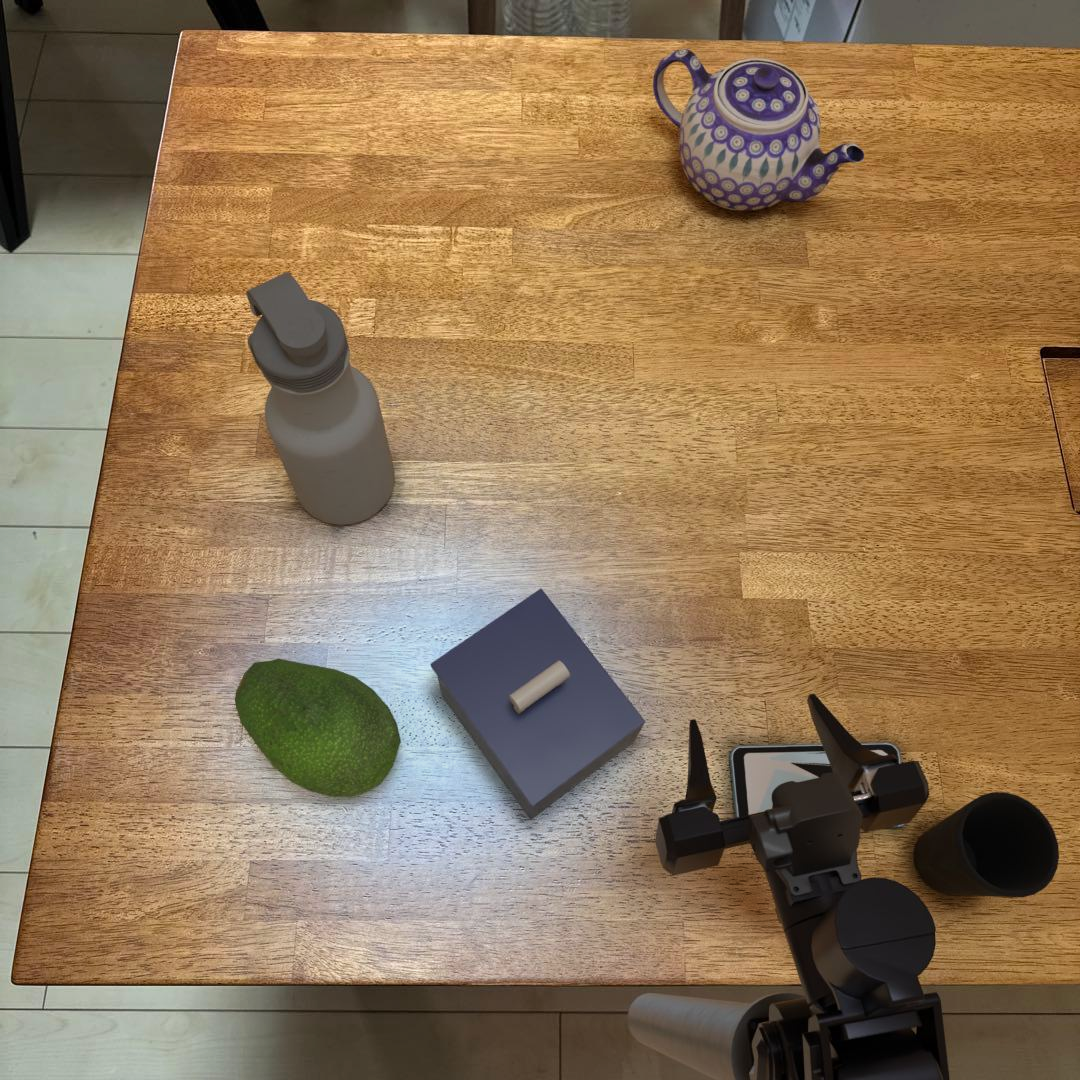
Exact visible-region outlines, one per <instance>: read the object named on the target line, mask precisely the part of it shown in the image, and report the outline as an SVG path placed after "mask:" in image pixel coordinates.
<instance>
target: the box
mask: <svg viewBox="0 0 1080 1080" xmlns="http://www.w3.org/2000/svg"><path fill="white" fill-rule="evenodd" d="M436 678H437V683H438V685H439V690H440V694H441V697H442V699H443V700H444V702H445V703H446V704H447V706H448V707H449V708H450V709H451V712H452V713H453V714H454V715H455V717H456V718H457V720H458V721H459V722H460V724H461V725H462V727H463V728H464V729H465V731H466V732H467V733H468V735H469V737H470V738H471V739H472V741H473V742H474V744H475V745H476V746H477V747H478V749H479V750H480V752H481V753H482V754H483V756H484V757H485V759H486V760H487V762H488V763H489V764H490V766H491V767H492V769H493V770H494V771H495V772H496V774H497V775H498V778H500V780H501V782H503V784H504V785H505V786H506V788H507V789H508V791H509V792H510V794H511V796H512V797H513V798H514V799H515V801H516V802H517V804H518V805H519V806H520V808H521V809H522V811H523V812H524V813H525V815H526V816H527V818H528V819H529V820H531V821H532V820H533V819H534V818H536V817H537V816H538V815H539V814H541V813H542V812H543V811H545V810H546V809H547V808H549V807H550V806H552V805H553V804H554V803H555V802H557V801H559V800H560V799H561V798H562V797H564V795H566V794H567V793H569V792H570V791H572V790H573V789H574V788H575V787H577V786H578V785H579V784H580V783H582V782H583V781H584V780H587V778H589V777H590V776H591V775H593V774H594V773H595V772H596V771H598V770H599V769H600V768H602V767H603V766H604V765H606V764H607V763H608V762H609V761H611V760H612V759H614V758H615V757H616V756H618V755H619V754H620V753H622V752H623V751H625V750H626V749H627V748H628V747H629V746H631V745H632V744H633V743H635V742H636V740H637V738H638V736H639V735H640V732H641V731H642V729H643V728H644V725H642V726H641V727H640V728H638V729H637V730H636V731H634V732H633V733H632V734H630V735H629V736H628V737H626V738H625V739H624V740H622V741H621V742H620V743H618V744H617V745H616V746H614V747H613V748H612V749H610V750H609V751H608V752H606V753H605V754H604V755H602V756H601V757H600V758H598V759H597V760H596V761H594V762H593V763H592V764H590V765H589V766H588V767H586V768H585V769H584V770H582V771H581V772H580V773H578V774H577V775H576V776H574V777H573V778H572V779H570V780H569V781H568V782H566V783H565V784H564V785H562V786H561V787H560V788H558V789H557V790H556V791H554V792H553V793H552V794H550V795H549V796H548V797H546V798H545V799H544V800H542V801H541V802H540V803H538V804H537V805H536V806H534V807H533V808H532V807H531V806H530V804H529V803H528V801H527V800H526V799H525V797H524V796H523V794H522V793H521V792H520V790H519V789H518V787H517V786H516V785H515V783H514V782H513V780H512V779H511V778H510V776H509V775H508V774H507V772H506V771H505V769H504V768H503V767H502V765H501V764H500V762H499V761H498V760H497V758H496V757H495V755H494V754H493V753H492V751H491V750H490V748H489V747H488V746H487V744H486V743H485V742H484V740H483V739H482V737H481V736H480V735H479V733H478V732H477V730H476V729H475V728H474V726H473V725H472V723H471V722H470V721H469V719H468V718H467V716H466V715H465V714H464V712H463V711H462V710H461V708H460V707H459V705H458V704H457V703H456V701H455V700H454V698H453V697H452V696H451V694H450V693H449V691H448V690H447V689H446V687H445V686H444V684H443V683H442V682H441V680H440V679H439V678H438V676H437V675H436Z"/></svg>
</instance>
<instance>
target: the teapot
mask: <svg viewBox="0 0 1080 1080" xmlns="http://www.w3.org/2000/svg"><path fill="white" fill-rule="evenodd" d="M673 63H682V64H683V65H684V66H685V67H686V69H687V71H688V72H689V74H690V77H691V85H692V91H691V95H690V96H689V98H688V101H687V102H686V105H685V107H684V109H683V112H681V111H680V110H679V109H678V108H677V107H675V105H674V104H673V102H672V101H671V100H670V98H669V96H668V94H667V91H666V87H665V83H664V80H665V79H664V78H665V72H666V70H668V68H669V66H670V65H672V64H673ZM652 78H653V79H652V92H653V96H654V99H655V101H656V103H657V105H658V107H659V109H660V110H661V111H662V113H663V114H664V115H665V116H666V117H667V119H668V120H670V122H672V123H673V124H674V126H676V127H677V128H678V130H679V132H678V151H679V159H680V163H681V167H682V170H683V172H684V174H685V176H686V178H687V180H688V181H689V182H688V183H690V184H691V185H692V187H693V188H694V189H695V190H696V192H698V193H699V194H701V196H702V197H704V198H705V199H706V200H708V201H710V202H711V203H713V204H714V205H716V206H719V208H724V209H727V210H732V211H755V210H764V209H766V208H770V207H772V206H774V205H776V204H779V203H782V202H787V203H790V204H797V203H804V202H807V201H810V200H813V199H814V198H816V197H817V196H818V195H819V194H820V193H822V191H823V190H824V189H825V188H826V187H827V185H829V183H830V182H831V180H832V178H833V177H834V175H836V173H837V171H838V170H839V169H840V168H841V167H842V166H843V165H845V164H849V163H860V162H862V161H863V160H864V159H865V153H864V150H863V149H862V148H861V147H860V146H859V145H858V144H855V143H853V142H845V143H842V144H839V145H837V146H835V147H834V148H832V149H831V150H830V151H828V152H826V153H825V152H823V151H822V150H821V147H820V134H821V127H822V126H821V119H820V107H819V105H818V104H817V102H816V100H815V99H814V97H813V96H812V94H811V93H810V92H809V90H808V88H807V86H806V83H805V82H804V80H803V79H802V77H801V75H800V74H798V73H797V72H796V71H795V70H793V69H792V68H790V67H789V66H787V65H786V64H784V63H781V62H778V61H776V60H772V59H768V58H763V57H762V58H761V57H751V58H744V59H740V60H738V61H735V62H733V63H731V64H729V65H727V66H726V67H724V68H721V69H719V70H717V71H716V72H713V73H710V72H708V71H707V70H706V68H705V67H704V65H703V63H702V62H701V60H700V59H699V58H698V56H697V55H696V54H695V53H694V52H693V51H692V50H690V49H688V48H681V49H677V50H675V51H673V52H671V53H669V54H667V55H666V56H664V57H663V58H662V59H661V60H659V61H658V64H657V65H656V67H655V69H654V73H653V77H652Z"/></svg>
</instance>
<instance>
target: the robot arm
mask: <svg viewBox="0 0 1080 1080" xmlns="http://www.w3.org/2000/svg"><path fill="white" fill-rule="evenodd" d="M806 702H807V705H808V709H809V713H810V716H811V720H812V723H813V725H814V728H815V730H816V733H817V736H818V738H819V740H820V744H822V745H823V748H824V750H825V753H826V755H827V758H828V760H829V763H830V765H831V768H832V770H833V772H832V773H826V774H823V775H822V776H821V777H819V778H815V779H810V780H806V781H801V782H795V781H789V782H785V783H782V784H780V785H779V786H777V787H776V788H775V789H774V791H773V792H772V809H768V810H765V811H764V812H759V813H755V814H750V815H746V816H741V817H737V818H735V817H733V818H728V819H725V820H720V817H719V814H717V813H716V812H714V809H715V806H716V802H717V799H718V796H717V794H716V792H715V790H714V786H713V785H712V782H711V776H710V771H709V767H708V761H707V757H706V756H707V755H706V751H705V747H704V742H703V737H702V733H701V731H700V730H701V729H700V728H699V724H698V722H697V720H696V719H695V718H692V719H690V720H689V725H688V750H687V751H688V753H687V754H688V755H687V757H688V758H687V781H686V789H685V790H686V791H685V797H684V799H680V800H678V801H676V802H675V803H674V804H673V805H672V810H671V813H667V814H665V815H662V816H661V817H659V818H658V821H657V827H656V833H655V839H654V843H655V847H656V851H657V854H658V858H659V859H658V860H659V861H660V862H659V863H660V865H661V866H662V869H663V870H664V871H666V872H667V873H668V874H669V875H671V876H673V877H674V876H679V875H683V874H687V873H691V872H697V871H701V870H705V869H710V868H714V867H719V865H720V863H721V860H722V857H723V854H724V852H725V850H727V849H728V850H729V849H732V848H736V847H742V846H745V845H746V846H747V845H750V847H751V849H752V851H753V855H754V856H755V858H756V861H757V862H758V863H759V865H760V866H761V868H762V869H763V871H764V874H765V878H766V880H767V884H768V887H769V890H770V893H771V896H772V899H773V902H774V906H775V907H774V911H775V915H776V917H777V920H778V923H779V924H781V927H782V930H783V933H784V935H785V938H786V942H787V945H788V948H789V951H790V954H791V958H792V961H793V964H794V966H795V970H796V972H797V977H798V979H799V981H800V985H801V988H802V991H803V994H804V996H805V998H800V999H794V1000H789V1001H783V1002H778V1003H773V1004H771V1005H770V1007H769V1017H759V1018H751V1019H749V1020H748V1021H747V1025H746V1026H747V1033H748V1039H749V1046H750V1053H751V1060H752V1069H751V1071H750V1073H749V1075H750V1080H951V1079H950V1071H949V1062H948V1061H949V1059H948V1052H947V1043H946V1035H945V1026H944V1016H943V1009H942V1008H943V1007H942V1000H941V997H940V995H939V993H938V992H937V991H932V992H927V993H924V991H923V988H922V985H921V983H920V980H919V976H920V975H921V974H922V973H923V972H924V971H925V970H926V969H927V968H928V967H929V965H930V963H931V961H932V959H933V957H934V955H935V950H936V944H937V940H936V931H937V927H936V924H935V921H934V918H933V915H932V914H931V912H930V910H929V908H928V906H927V905H926V903H925V902H924V901H923V899H922V898H921V897H920V896H919V895H918V894H917V893H915V892H914V891H913V890H912V889H911V888H909V887H908V886H906V885H904V884H903V883H901V882H898V881H896V880H893V879H890V878H887V877H875V876H873V877H872V876H871V877H867V878H863V879H862V873H861V870H860V868H859V865H858V848H859V845H860V840H861V839H860V838H861V832H862V831H863V832H864V833H865V834H866V833H870V832H875V831H879V830H883V829H890V828H889V827H893V826H897V825H902V824H906V823H907V824H910V823H911V822H912V820H913V819H914V817H915V816H916V815H917V814H918V813H919V812H920V811H921V810H922V808H923V807H924V806H925V805H926V803H927V801H928V799H929V796H930V787H929V782H928V780H927V777H926V775H925V773H924V770H923V768H922V766H921V764H920V761H917V760H909V761H904V762H901V763H900V764H896V763H897V762H898V759H897V758H896V757H895V756H894V755H885V756H883V755H880V754H877V753H875V752H873V751H870V750H868V749H867V748H865V747H864V746H863V745H862V744H860V743H861V742H860V741H858V740H857V739H856V738H855V737H854V736H853V735H852V734H851V733H850V732H849V731H848V730H847V729H846V728H845V727H844V726H843V724H842V723H841V722H840V721H839V719H838V718H836V716H835V715H834V714H833V713H832V712H831V711H830V709H829V708H828V707H827V706H826V705H825V704H824V702H823V701H821V700H820V698H819V697H818V696H817V695H816V694H815V693H810V694H809V695H808V696H807V700H806ZM907 824H906V825H907ZM751 1022H755V1024H756V1027H755V1028H751V1026H750V1025H751ZM913 1028H916V1030H915V1031H916V1032H915V1031H914V1030H913Z"/></svg>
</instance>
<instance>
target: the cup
mask: <svg viewBox="0 0 1080 1080" xmlns="http://www.w3.org/2000/svg"><path fill="white" fill-rule="evenodd" d="M912 854H913V865H914V868H915V870H916V872H917V875H918V876H919V878H920V879H921V881H923V883H924V884H925V885H926V886H928V888H930V889H931V890H933V891H935V892H936V893H939V894H943V895H948V896H951V895H952V896H968V897H969V896H973V897H995V898H998V897H999V898H1026V897H1030V896H1034V895H1036V894H1038V893H1039V892H1041V891H1042V890H1044V889H1046V888H1047V886H1048V885H1049V884H1050V883H1051V882H1052V881H1053V880H1054V876H1055V874H1056V873H1057V870H1058V868H1059V867H1058V866H1059V860H1060V850H1059V842H1058V838H1057V836H1056V832H1055V830H1054V828H1053V826H1052V825H1051V823H1050V821H1049V819H1048V818H1047V817H1046V816H1045V815H1044V813H1043V812H1042V811H1041V810H1040V809H1039V808H1038V807H1037V806H1035V805H1034V804H1033V803H1032V802H1030V801H1029V800H1027V799H1025V798H1023V797H1022V796H1019V795H1017V794H1014V793H1009V792H1005V791H1003V792H1001V791H998V792H997V791H993V792H989V793H985V794H982V795H981V794H980V795H979V796H977V797H976V798H974V799H973V800H971V801H970V802H968V803H966V804H965V805H964V806H962V807H960V808H959V809H958V810H956V811H955V812H953V813H951V814H950V815H949V816H947V817H946V818H944V819H942V820H941V821H939V822H937V824H935V825H933V826H932V827H930V828H929V829H927V830H926V831H924V832H923V833H922V834H921V835H920V836H919V837H918V838H917V841H916V842H915V844H914V848H913V853H912Z"/></svg>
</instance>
